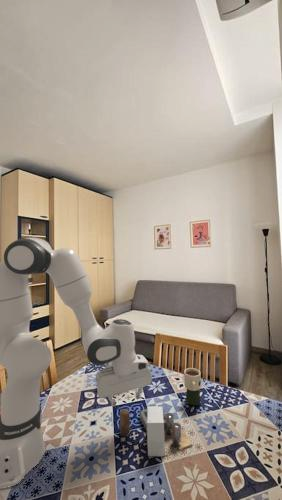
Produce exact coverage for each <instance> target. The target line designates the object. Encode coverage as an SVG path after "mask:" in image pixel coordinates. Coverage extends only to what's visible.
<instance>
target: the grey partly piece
mask: <svg viewBox="0 0 282 500" xmlns="http://www.w3.org/2000/svg"><path fill="white" fill-rule="evenodd" d="M158 406H162V405H161V404H159V405H158ZM166 414H167V412H166V411H165V409H164V408H163V417H164V431H166V423H165V415H166ZM139 419H140V420H141V423H142V424H143V425H142V426H143V427H144V429H145V431H146V432H147V408H145V409H142V410H139Z"/></svg>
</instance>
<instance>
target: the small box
mask: <svg viewBox="0 0 282 500" xmlns="http://www.w3.org/2000/svg"><path fill="white" fill-rule="evenodd" d="M146 409H147V431H146V433H147V435H146V436H147V437H146V438H147V439H146V440H147V456H148V457H165V456H166V447H165V445H166V441H165V430H164V417H163V409H164V407H163V406H162V405H161V406H159V405H157V406H153V405H152V406H151V405H150V406H149V405H148V406H147V407H146Z"/></svg>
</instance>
